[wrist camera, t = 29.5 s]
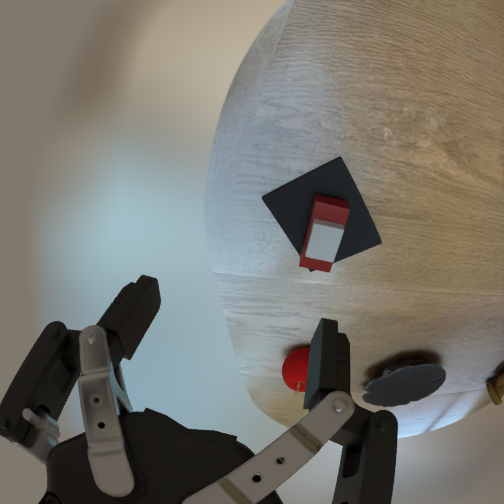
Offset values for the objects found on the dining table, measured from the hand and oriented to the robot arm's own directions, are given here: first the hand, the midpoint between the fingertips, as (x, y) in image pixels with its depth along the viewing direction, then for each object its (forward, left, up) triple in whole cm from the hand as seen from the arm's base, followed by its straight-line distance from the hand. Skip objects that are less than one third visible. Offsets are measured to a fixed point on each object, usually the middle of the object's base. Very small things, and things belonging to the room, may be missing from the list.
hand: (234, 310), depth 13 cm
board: (+56, +1, -26) cm, 62 cm away
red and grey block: (+15, -4, -23) cm, 28 cm away
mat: (+10, 0, -26) cm, 28 cm away
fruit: (+37, -17, -26) cm, 48 cm away
